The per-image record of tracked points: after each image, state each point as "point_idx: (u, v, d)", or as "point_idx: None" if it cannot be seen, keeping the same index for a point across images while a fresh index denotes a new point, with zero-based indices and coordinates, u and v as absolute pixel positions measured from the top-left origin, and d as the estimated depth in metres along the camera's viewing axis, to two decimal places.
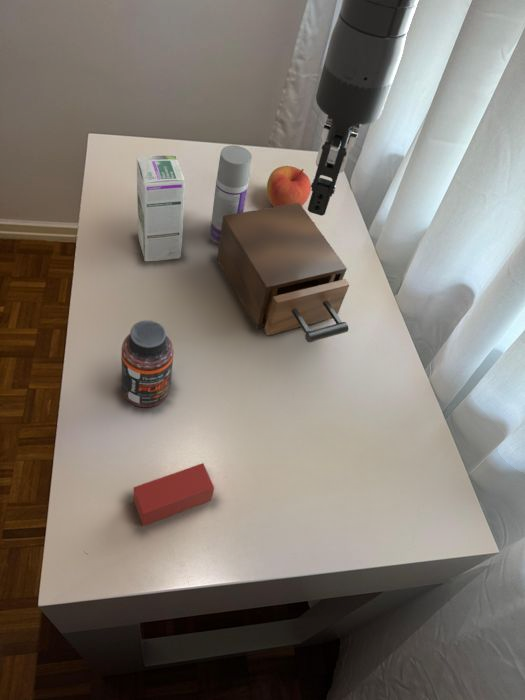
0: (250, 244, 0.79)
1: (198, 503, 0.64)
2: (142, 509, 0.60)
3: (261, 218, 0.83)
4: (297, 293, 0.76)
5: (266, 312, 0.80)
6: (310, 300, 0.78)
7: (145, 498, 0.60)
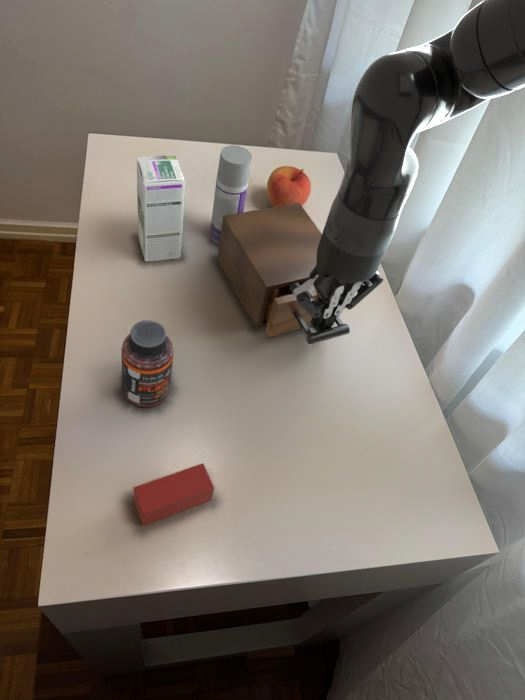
0: (250, 244, 0.79)
1: (198, 503, 0.64)
2: (142, 509, 0.60)
3: (261, 218, 0.83)
4: None
5: (267, 314, 0.80)
6: None
7: (145, 498, 0.60)
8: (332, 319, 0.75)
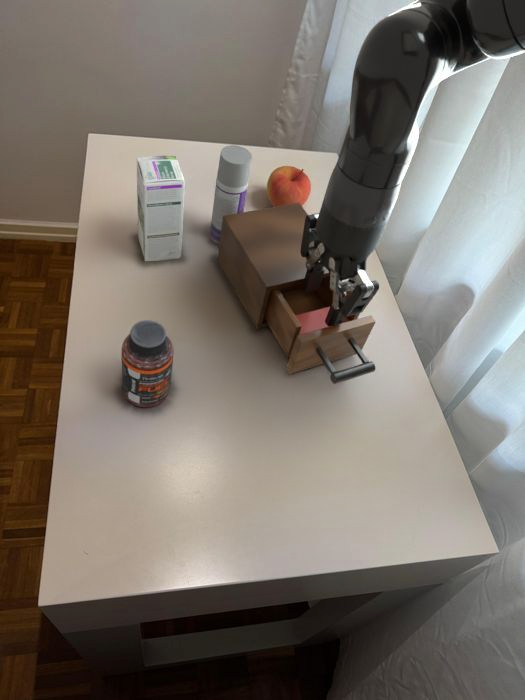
0: (250, 244, 0.79)
1: None
2: None
3: (261, 218, 0.83)
4: (322, 332, 0.73)
5: (288, 349, 0.77)
6: (335, 338, 0.74)
7: None
8: None
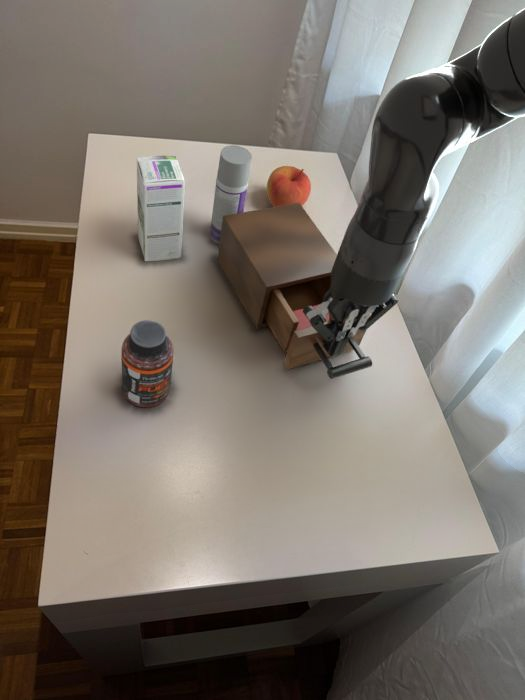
0: (250, 244, 0.79)
1: None
2: None
3: (261, 218, 0.83)
4: None
5: (286, 345, 0.77)
6: None
7: None
8: (345, 341, 0.73)
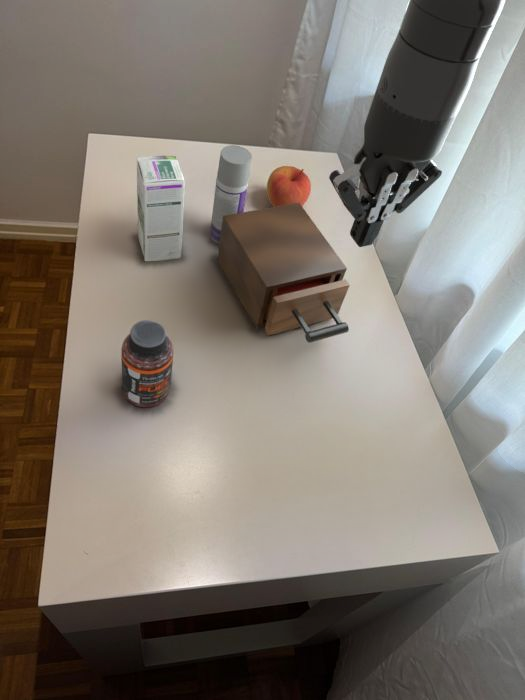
0: (250, 244, 0.79)
1: None
2: None
3: (261, 218, 0.83)
4: (297, 293, 0.76)
5: (266, 312, 0.80)
6: (310, 300, 0.78)
7: None
8: (377, 226, 0.62)
